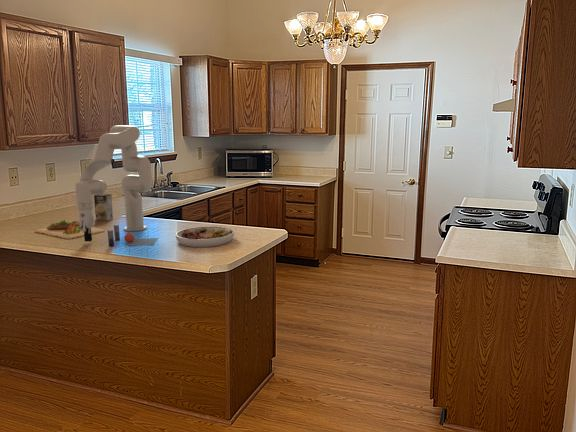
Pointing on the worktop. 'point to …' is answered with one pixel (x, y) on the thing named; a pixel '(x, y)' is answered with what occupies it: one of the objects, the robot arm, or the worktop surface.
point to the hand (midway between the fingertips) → (88, 240)
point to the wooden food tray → (67, 230)
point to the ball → (129, 237)
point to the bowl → (205, 236)
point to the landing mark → (142, 242)
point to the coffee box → (103, 206)
